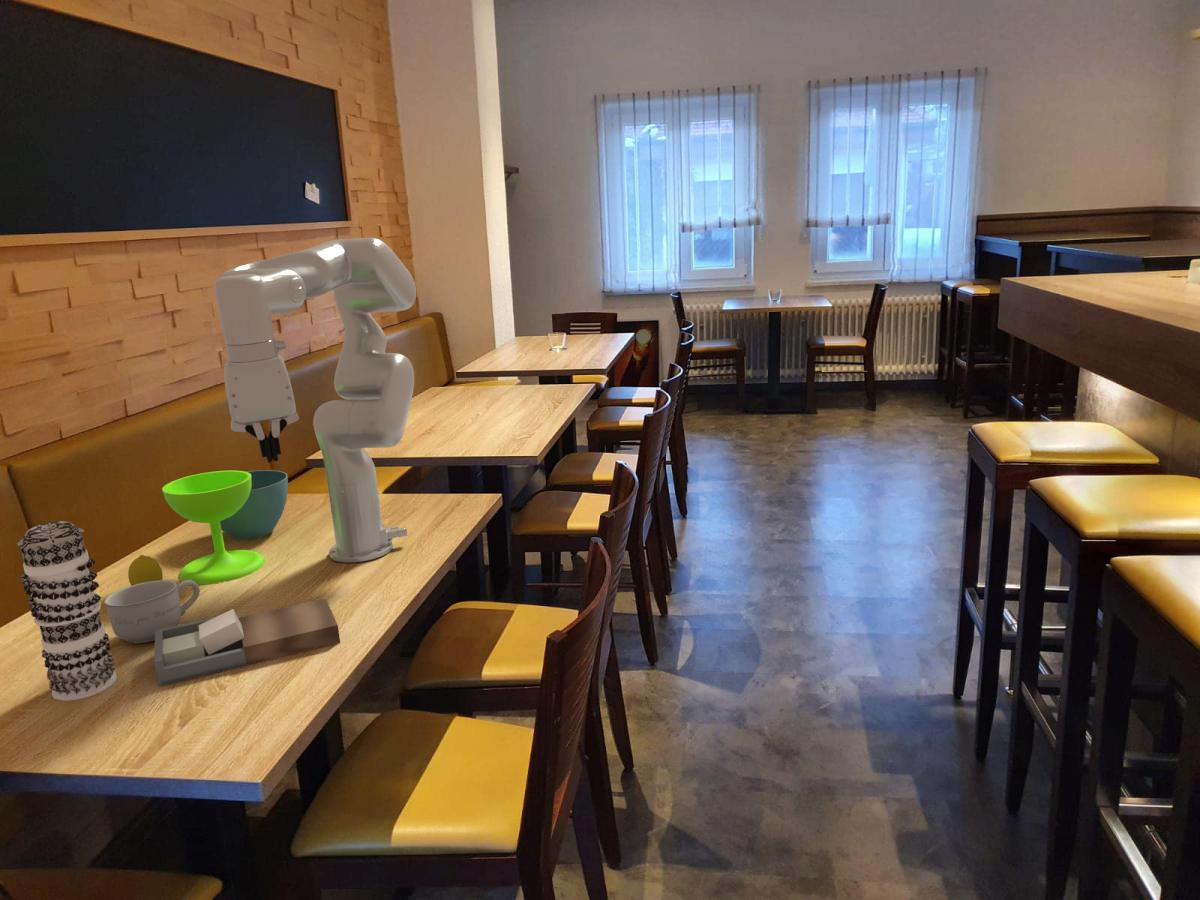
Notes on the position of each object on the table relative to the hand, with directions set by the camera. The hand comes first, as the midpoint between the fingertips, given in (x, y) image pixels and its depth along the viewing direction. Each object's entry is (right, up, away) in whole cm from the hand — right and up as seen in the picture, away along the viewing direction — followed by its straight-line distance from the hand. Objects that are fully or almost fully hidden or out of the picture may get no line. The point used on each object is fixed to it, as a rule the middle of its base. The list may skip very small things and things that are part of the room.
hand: (272, 459), depth 145 cm
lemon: (-29, -26, +15) cm, 41 cm away
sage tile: (-9, -31, -12) cm, 34 cm away
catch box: (-7, -31, -11) cm, 34 cm away
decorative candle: (-21, -34, -17) cm, 43 cm away
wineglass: (-20, -22, +27) cm, 40 cm away
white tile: (-4, -28, -10) cm, 30 cm away
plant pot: (-22, -17, +46) cm, 54 cm away
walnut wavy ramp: (+5, -29, -6) cm, 30 cm away
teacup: (-18, -29, -1) cm, 35 cm away
